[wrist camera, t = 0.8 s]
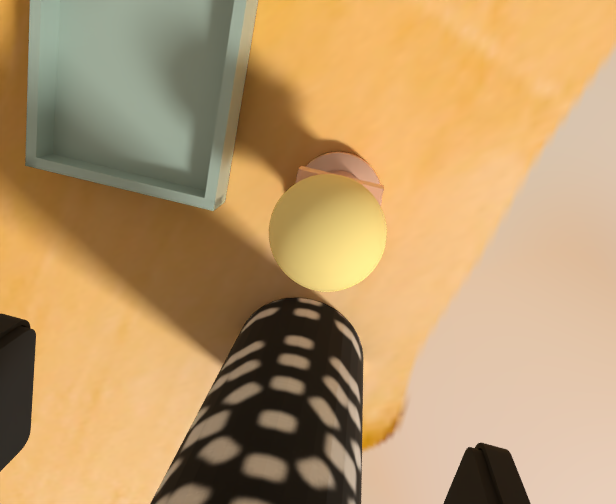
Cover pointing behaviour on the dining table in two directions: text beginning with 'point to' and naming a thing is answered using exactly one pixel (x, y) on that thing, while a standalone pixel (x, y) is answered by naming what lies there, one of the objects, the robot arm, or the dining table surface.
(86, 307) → the dining table surface
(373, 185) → the egg cup
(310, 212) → the ball
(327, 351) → the white-spotted black cylinder
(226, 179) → the tray
